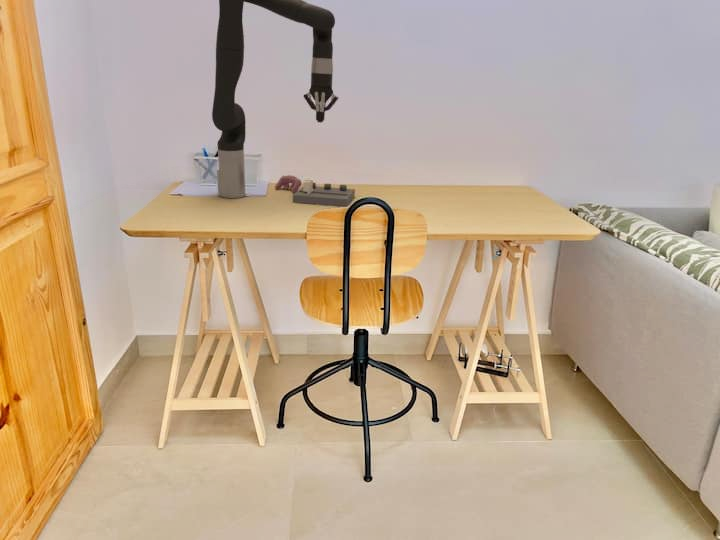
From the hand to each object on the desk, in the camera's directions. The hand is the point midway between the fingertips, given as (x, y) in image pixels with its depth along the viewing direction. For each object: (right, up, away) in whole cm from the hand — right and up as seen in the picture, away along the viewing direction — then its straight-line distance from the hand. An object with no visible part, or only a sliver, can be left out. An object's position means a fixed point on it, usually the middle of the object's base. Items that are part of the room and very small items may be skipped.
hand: (320, 122), depth 201 cm
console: (+1, -28, +5) cm, 28 cm away
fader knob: (-5, -24, +3) cm, 25 cm away
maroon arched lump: (-14, -23, +16) cm, 31 cm away
